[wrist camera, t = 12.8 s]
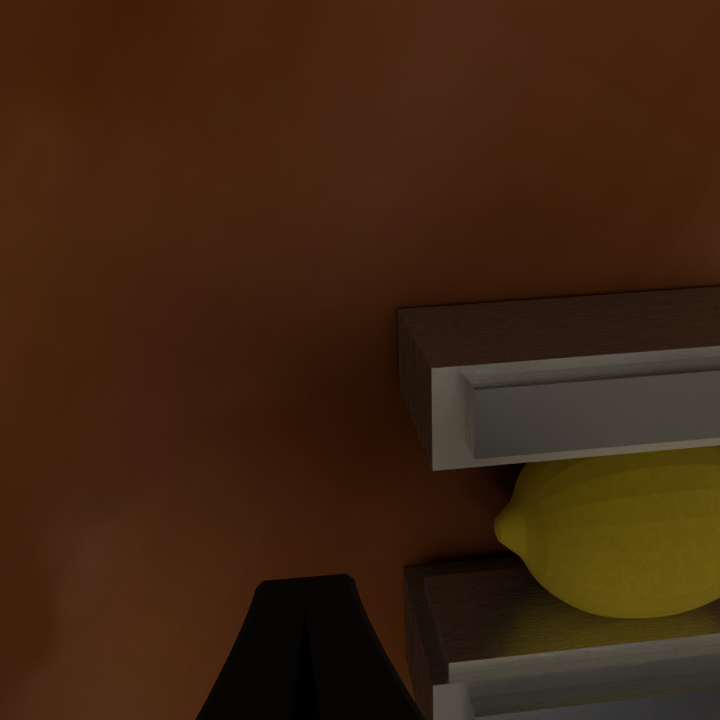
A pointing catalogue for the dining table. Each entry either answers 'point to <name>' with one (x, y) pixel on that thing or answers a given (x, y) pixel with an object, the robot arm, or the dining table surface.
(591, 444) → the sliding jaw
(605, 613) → the lemon
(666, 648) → the vise body
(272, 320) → the dining table surface
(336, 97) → the dining table surface
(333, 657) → the robot arm
